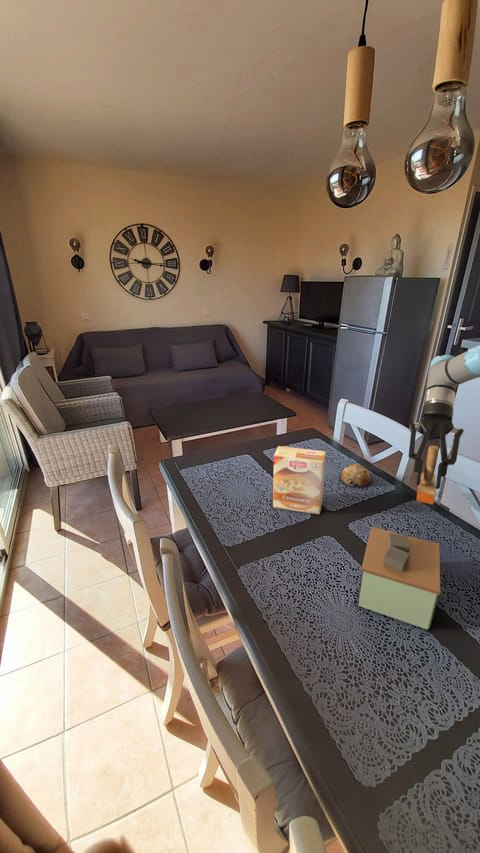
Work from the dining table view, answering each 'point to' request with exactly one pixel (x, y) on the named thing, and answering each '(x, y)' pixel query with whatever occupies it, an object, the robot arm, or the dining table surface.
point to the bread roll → (356, 475)
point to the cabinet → (401, 580)
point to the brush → (428, 478)
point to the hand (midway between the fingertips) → (427, 485)
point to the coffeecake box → (298, 479)
